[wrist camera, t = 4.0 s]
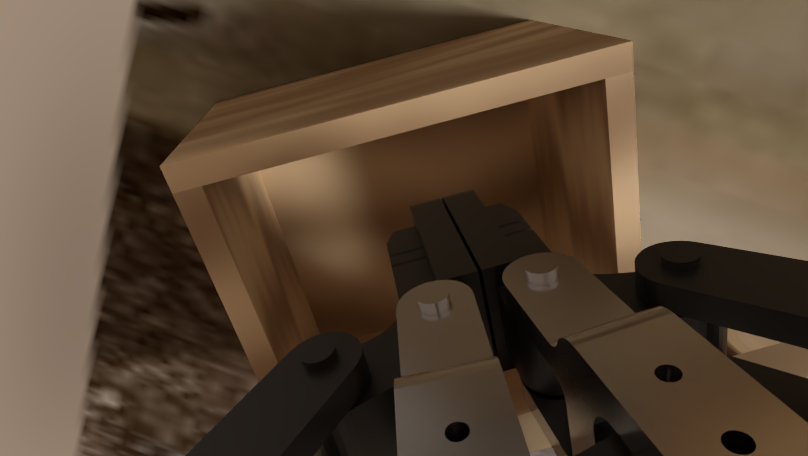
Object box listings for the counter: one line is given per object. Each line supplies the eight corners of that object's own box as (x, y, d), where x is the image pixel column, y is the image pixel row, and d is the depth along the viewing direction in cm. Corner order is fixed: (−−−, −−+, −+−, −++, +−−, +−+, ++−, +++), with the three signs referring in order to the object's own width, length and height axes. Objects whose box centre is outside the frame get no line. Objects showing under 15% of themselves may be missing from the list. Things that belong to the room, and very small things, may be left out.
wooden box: (212, 103, 26) (153, 167, 18) (529, 19, 27) (632, 40, 18) (310, 354, 33) (304, 492, 24) (561, 285, 34) (647, 397, 25)
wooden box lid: (22, 552, 9) (20, 594, 9) (996, 282, 9) (1022, 316, 9) (298, 497, 24) (300, 511, 24) (658, 396, 25) (664, 410, 24)
